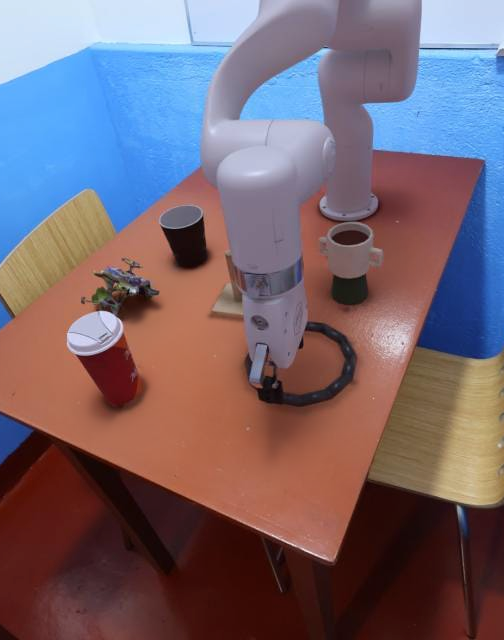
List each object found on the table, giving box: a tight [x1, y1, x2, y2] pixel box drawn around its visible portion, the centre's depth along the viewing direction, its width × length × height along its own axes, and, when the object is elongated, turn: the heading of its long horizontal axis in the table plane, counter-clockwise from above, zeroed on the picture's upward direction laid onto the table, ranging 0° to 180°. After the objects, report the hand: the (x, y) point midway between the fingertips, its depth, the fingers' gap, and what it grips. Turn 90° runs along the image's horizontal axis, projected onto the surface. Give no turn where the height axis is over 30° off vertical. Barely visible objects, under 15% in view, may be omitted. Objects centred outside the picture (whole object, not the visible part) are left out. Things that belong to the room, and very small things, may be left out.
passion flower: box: [80, 257, 160, 317], centre depth 85 cm, size 11×11×12 cm
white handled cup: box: [318, 221, 384, 306], centre depth 77 cm, size 11×7×13 cm, turn 58°
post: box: [211, 248, 244, 317], centre depth 80 cm, size 8×8×11 cm
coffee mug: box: [158, 204, 208, 269], centre depth 94 cm, size 12×9×10 cm
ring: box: [243, 320, 358, 408], centre depth 71 cm, size 17×17×2 cm
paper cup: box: [66, 310, 143, 408], centre depth 68 cm, size 8×8×14 cm
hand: (282, 372), depth 62 cm, fingers open, 9 cm apart
